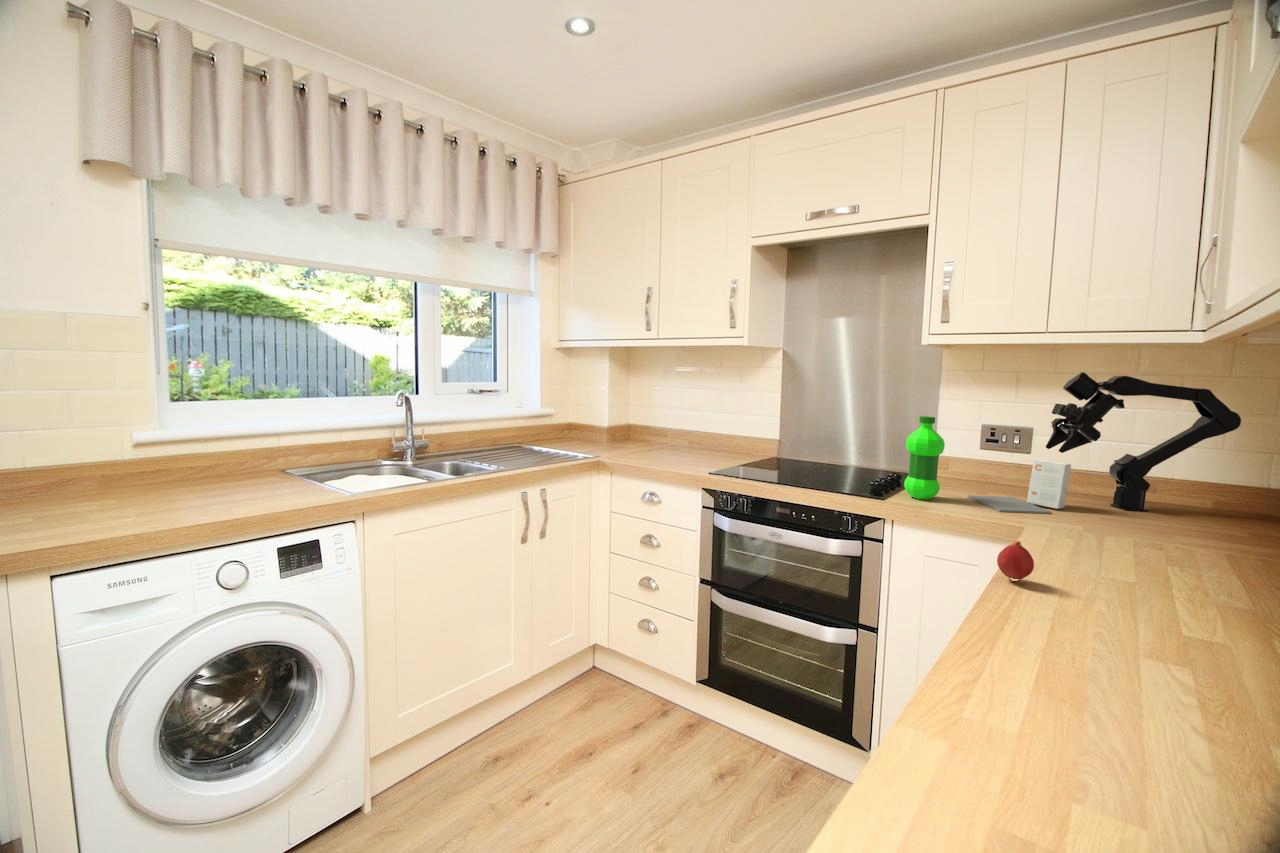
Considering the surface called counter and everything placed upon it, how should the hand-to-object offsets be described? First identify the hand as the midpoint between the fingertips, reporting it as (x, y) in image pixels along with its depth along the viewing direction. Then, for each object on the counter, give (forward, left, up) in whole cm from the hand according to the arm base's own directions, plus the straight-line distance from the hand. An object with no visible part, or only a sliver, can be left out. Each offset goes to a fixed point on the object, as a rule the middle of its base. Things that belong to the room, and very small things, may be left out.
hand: (1053, 449), depth 177 cm
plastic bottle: (+39, +2, -16) cm, 42 cm away
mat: (+16, +7, -16) cm, 24 cm away
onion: (+51, +72, -16) cm, 90 cm away
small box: (+5, +7, -16) cm, 18 cm away
